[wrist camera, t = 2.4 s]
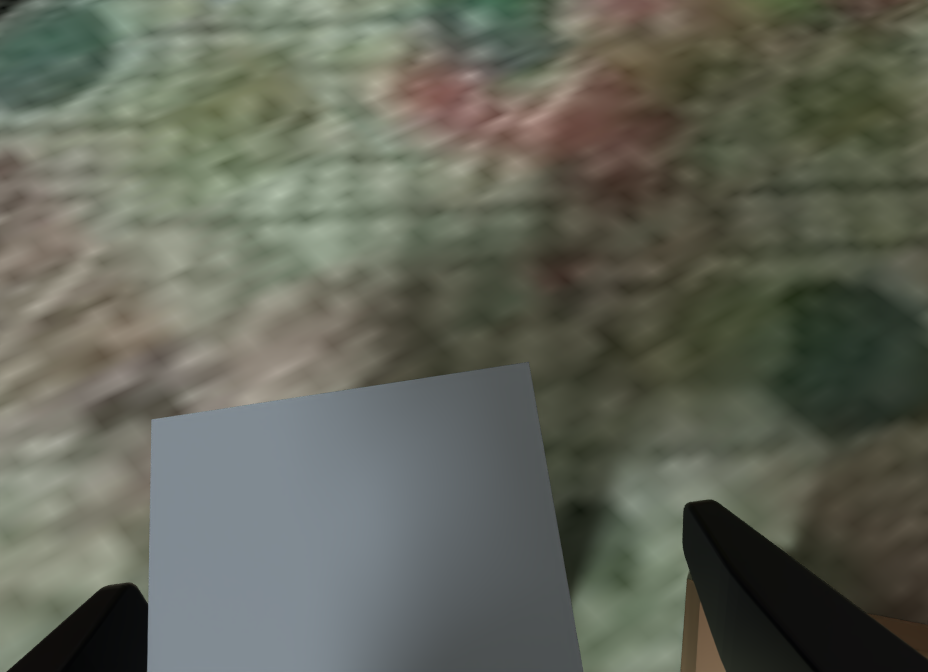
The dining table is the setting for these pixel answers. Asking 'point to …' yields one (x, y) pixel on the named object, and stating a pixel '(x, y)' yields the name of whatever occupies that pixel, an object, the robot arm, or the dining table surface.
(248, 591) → the grey rectangular block
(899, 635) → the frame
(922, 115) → the dining table surface
